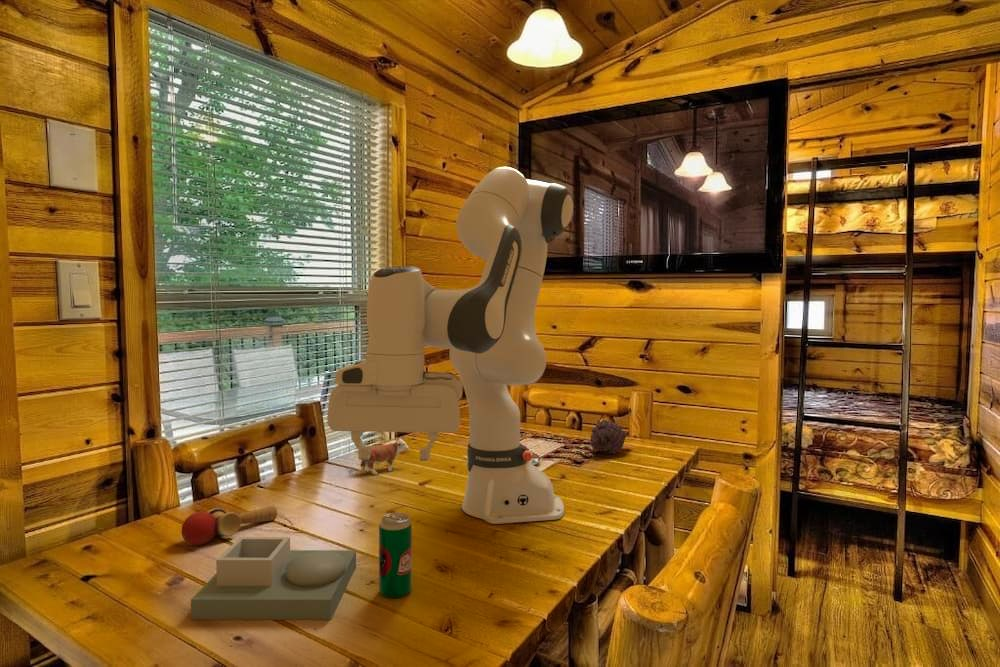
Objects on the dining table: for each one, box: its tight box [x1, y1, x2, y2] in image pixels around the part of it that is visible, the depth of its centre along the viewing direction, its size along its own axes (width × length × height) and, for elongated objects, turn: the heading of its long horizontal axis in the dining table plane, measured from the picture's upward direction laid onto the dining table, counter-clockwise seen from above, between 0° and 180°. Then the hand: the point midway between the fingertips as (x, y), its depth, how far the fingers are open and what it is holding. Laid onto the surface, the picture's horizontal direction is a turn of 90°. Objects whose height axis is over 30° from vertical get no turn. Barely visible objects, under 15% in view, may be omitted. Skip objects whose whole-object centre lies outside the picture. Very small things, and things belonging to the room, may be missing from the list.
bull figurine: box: [360, 438, 409, 475], centre depth 153 cm, size 4×13×8 cm, turn 124°
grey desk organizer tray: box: [190, 536, 357, 621], centre depth 91 cm, size 20×16×7 cm
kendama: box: [181, 505, 278, 547], centre depth 113 cm, size 8×6×18 cm
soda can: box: [378, 512, 413, 599], centre depth 91 cm, size 5×5×12 cm
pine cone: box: [589, 419, 630, 454], centre depth 172 cm, size 18×10×10 cm, turn 139°
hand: (394, 459), depth 90 cm, fingers open, 8 cm apart
